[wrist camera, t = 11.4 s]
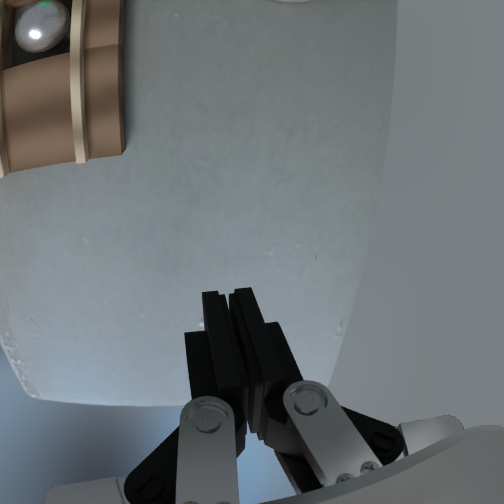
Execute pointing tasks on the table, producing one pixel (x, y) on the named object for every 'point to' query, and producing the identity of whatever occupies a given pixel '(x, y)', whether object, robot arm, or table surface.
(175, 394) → the table surface
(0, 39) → the walnut board
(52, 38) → the steel ball
